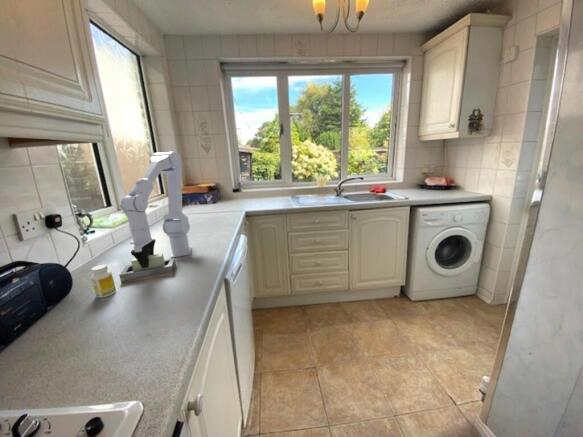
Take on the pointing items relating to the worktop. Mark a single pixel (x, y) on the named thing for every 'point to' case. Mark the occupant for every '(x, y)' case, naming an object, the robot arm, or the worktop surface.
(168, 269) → the frame
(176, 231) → the robot arm
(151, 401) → the worktop surface
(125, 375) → the worktop surface
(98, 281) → the supplement bottle
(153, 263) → the door panel
